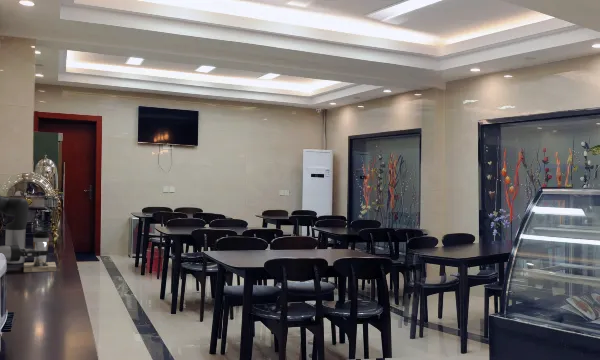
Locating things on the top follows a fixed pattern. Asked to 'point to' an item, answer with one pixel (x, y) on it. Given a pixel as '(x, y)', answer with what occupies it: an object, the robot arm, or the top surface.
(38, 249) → the grey cylinder
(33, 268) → the mounting board
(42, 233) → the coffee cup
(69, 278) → the top surface
